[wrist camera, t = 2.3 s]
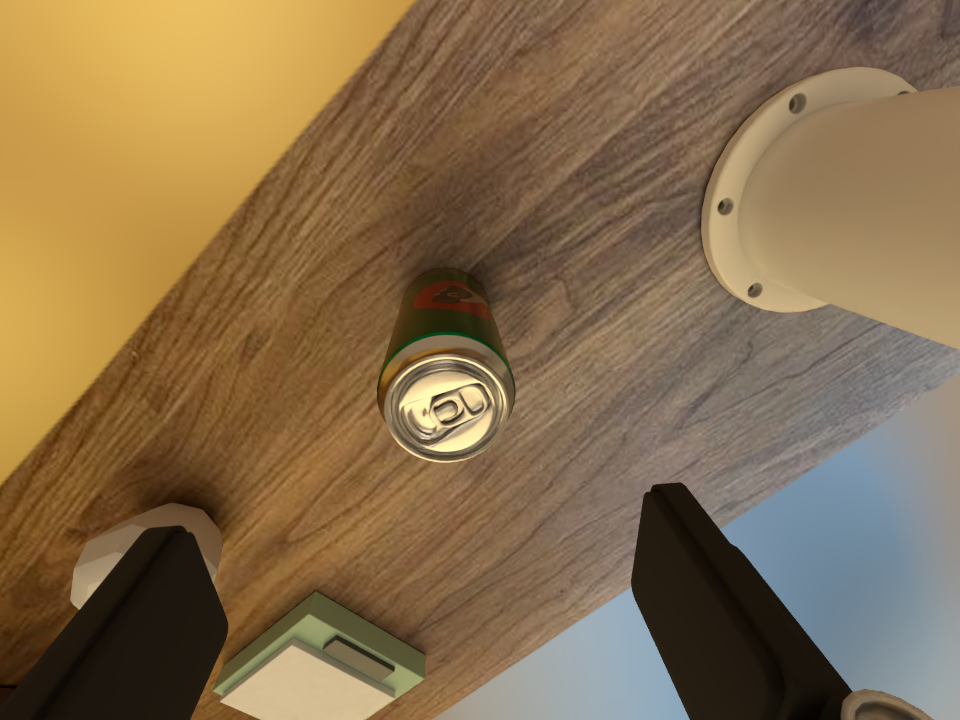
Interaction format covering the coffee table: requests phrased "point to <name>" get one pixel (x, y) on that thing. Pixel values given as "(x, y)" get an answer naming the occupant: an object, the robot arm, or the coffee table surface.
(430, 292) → the soda can
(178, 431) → the coffee table surface
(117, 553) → the white apple
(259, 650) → the scale
